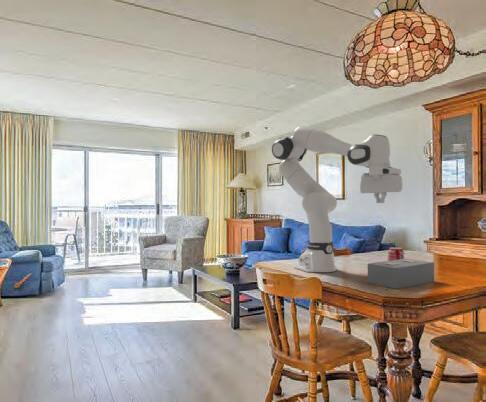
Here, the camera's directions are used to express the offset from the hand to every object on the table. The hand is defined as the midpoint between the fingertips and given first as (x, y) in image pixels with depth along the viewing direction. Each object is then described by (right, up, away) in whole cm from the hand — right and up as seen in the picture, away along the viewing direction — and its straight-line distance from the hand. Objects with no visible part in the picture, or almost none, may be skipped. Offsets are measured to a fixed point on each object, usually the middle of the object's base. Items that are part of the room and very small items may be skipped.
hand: (380, 203), depth 168 cm
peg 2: (+11, -33, -4) cm, 35 cm away
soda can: (+12, -33, +12) cm, 37 cm away
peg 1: (+1, -33, -11) cm, 34 cm away
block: (+6, -33, -7) cm, 34 cm away
